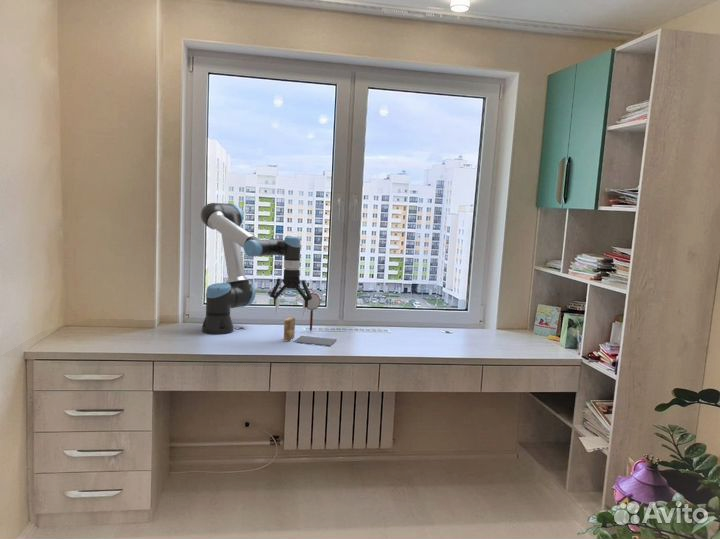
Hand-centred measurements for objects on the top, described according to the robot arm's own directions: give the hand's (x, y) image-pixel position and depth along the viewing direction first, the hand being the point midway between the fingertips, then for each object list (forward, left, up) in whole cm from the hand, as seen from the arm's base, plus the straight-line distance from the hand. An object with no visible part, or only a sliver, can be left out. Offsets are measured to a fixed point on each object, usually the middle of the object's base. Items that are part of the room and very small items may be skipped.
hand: (290, 313), depth 249 cm
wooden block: (0, 0, -13) cm, 13 cm away
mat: (+13, +1, -13) cm, 18 cm away
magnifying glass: (+5, +20, -13) cm, 24 cm away
